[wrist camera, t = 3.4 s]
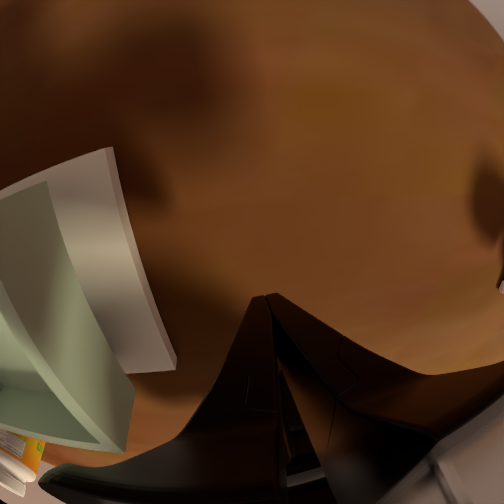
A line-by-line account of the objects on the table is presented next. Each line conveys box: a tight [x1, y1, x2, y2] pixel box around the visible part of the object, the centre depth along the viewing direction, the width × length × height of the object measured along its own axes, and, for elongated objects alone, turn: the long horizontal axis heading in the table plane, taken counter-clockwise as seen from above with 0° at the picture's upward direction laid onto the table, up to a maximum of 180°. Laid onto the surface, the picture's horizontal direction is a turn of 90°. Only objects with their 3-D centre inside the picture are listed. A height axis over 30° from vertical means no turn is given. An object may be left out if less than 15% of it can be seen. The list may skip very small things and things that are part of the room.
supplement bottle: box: [0, 428, 46, 497], centre depth 13 cm, size 5×5×10 cm
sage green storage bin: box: [0, 180, 136, 453], centre depth 9 cm, size 11×11×6 cm
